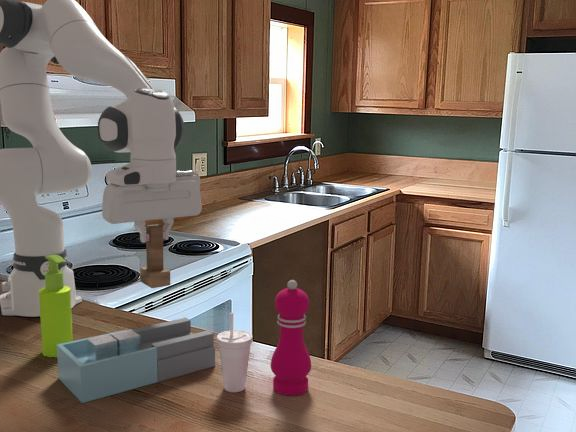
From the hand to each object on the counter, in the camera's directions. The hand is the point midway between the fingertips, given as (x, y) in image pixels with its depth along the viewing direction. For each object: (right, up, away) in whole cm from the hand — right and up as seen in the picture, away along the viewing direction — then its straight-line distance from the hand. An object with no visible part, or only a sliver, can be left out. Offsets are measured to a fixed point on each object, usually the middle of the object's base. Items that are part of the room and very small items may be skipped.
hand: (154, 240), depth 128 cm
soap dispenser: (-19, -23, 0) cm, 30 cm away
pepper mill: (+27, -26, -14) cm, 40 cm away
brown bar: (0, -9, +2) cm, 9 cm away
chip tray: (-6, -25, -12) cm, 28 cm away
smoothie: (+17, -26, -15) cm, 34 cm away
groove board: (+5, -24, -5) cm, 25 cm away
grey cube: (-3, -21, -11) cm, 24 cm away
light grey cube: (-6, -21, -14) cm, 26 cm away
